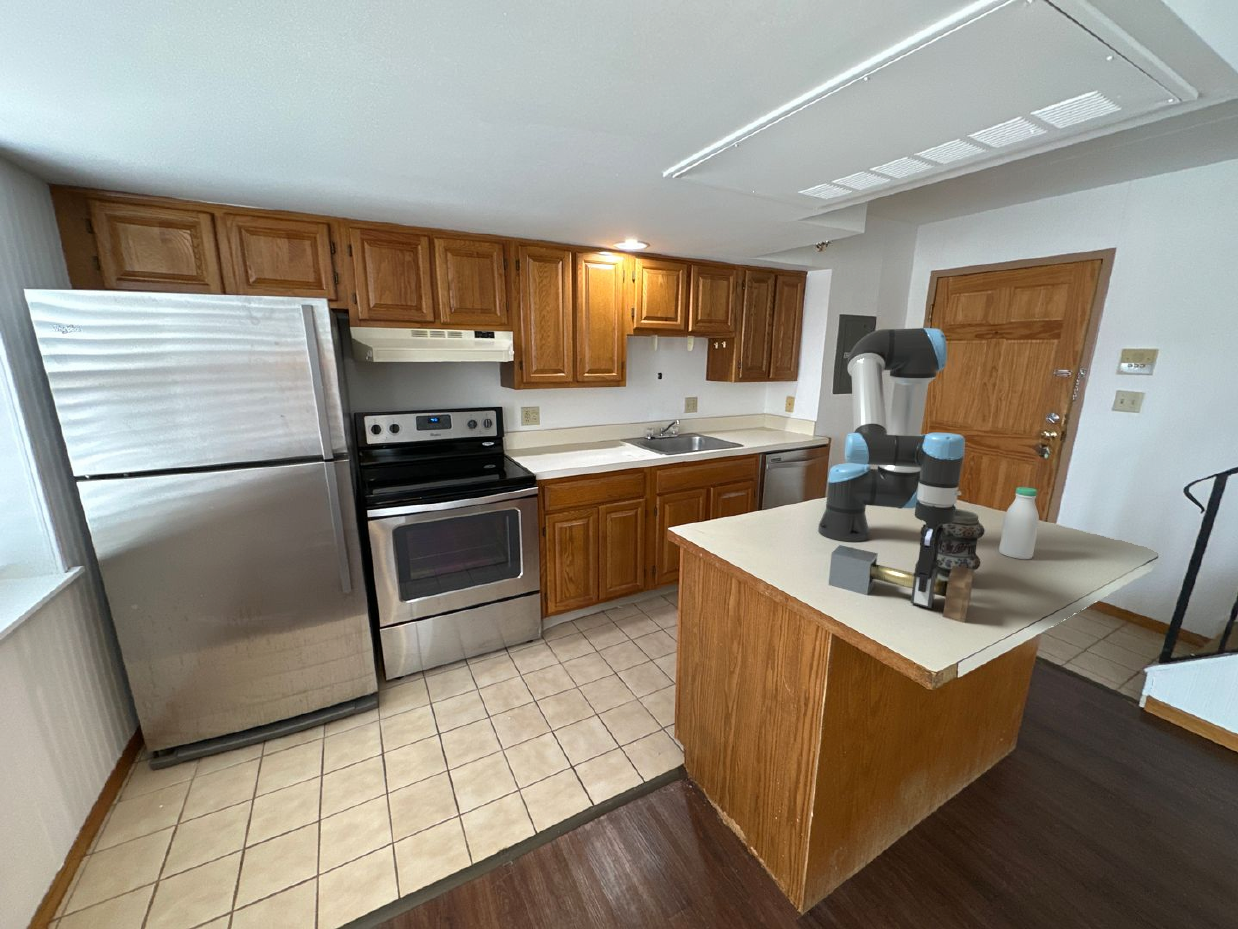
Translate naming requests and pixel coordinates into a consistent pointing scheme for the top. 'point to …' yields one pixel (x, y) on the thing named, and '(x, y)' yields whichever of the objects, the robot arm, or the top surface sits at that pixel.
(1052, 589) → the top surface
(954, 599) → the socket block
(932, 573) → the tube
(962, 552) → the apothecary jar
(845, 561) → the sleeve
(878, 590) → the top surface
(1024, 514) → the milk bottle
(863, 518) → the robot arm
